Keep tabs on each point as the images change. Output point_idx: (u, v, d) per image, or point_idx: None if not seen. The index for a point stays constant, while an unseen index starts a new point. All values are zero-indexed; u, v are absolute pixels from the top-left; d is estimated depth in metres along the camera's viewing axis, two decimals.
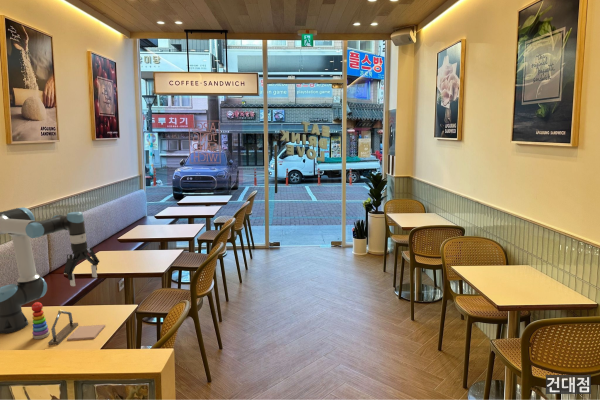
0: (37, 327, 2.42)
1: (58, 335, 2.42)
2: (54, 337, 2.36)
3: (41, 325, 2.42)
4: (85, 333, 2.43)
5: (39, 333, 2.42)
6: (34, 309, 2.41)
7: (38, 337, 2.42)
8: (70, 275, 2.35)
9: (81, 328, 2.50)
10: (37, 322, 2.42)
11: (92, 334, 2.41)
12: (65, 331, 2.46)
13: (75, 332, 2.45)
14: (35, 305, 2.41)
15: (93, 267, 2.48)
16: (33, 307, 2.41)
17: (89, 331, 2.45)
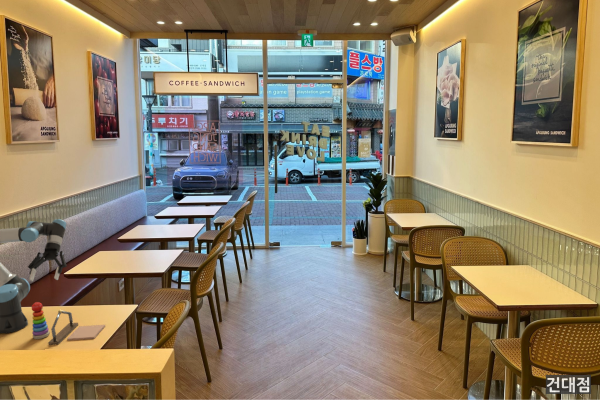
0: (37, 327, 2.42)
1: (58, 335, 2.42)
2: (54, 337, 2.36)
3: (41, 325, 2.42)
4: (85, 333, 2.43)
5: (39, 333, 2.42)
6: (34, 309, 2.41)
7: (38, 337, 2.42)
8: None
9: (81, 328, 2.50)
10: (37, 322, 2.42)
11: (92, 334, 2.41)
12: (65, 331, 2.46)
13: (75, 332, 2.45)
14: (35, 305, 2.41)
15: (34, 271, 2.55)
16: (33, 307, 2.41)
17: (89, 331, 2.45)
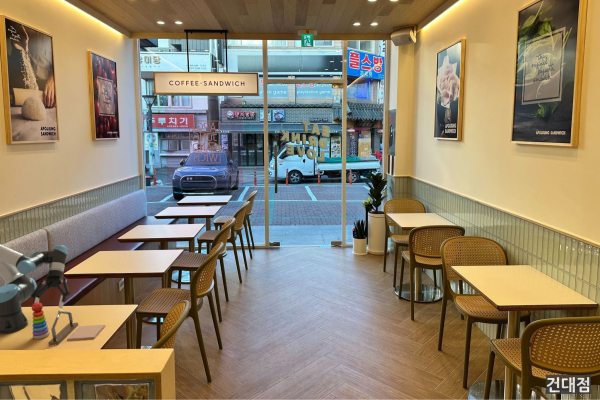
0: (37, 327, 2.42)
1: (58, 335, 2.42)
2: (54, 337, 2.36)
3: (41, 325, 2.42)
4: (85, 333, 2.43)
5: (39, 333, 2.42)
6: (34, 309, 2.41)
7: (38, 337, 2.42)
8: None
9: (81, 328, 2.50)
10: (37, 322, 2.42)
11: (92, 334, 2.41)
12: (65, 331, 2.46)
13: (75, 332, 2.45)
14: (35, 305, 2.41)
15: (38, 300, 2.52)
16: (33, 307, 2.41)
17: (89, 331, 2.45)
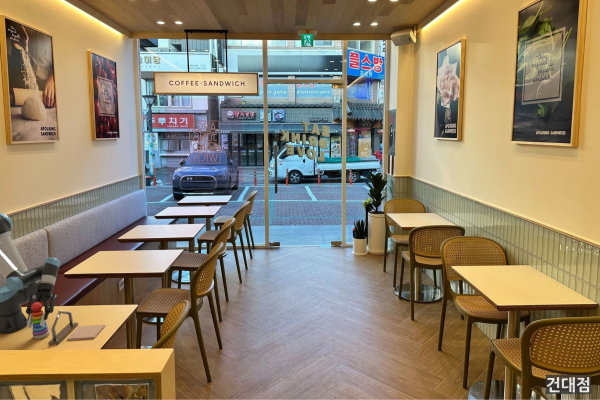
0: (37, 327, 2.42)
1: (58, 335, 2.42)
2: (54, 337, 2.36)
3: None
4: (85, 333, 2.43)
5: (39, 333, 2.42)
6: (33, 309, 2.41)
7: (38, 337, 2.42)
8: None
9: (81, 328, 2.50)
10: (37, 322, 2.42)
11: (92, 334, 2.41)
12: (65, 331, 2.46)
13: (75, 332, 2.45)
14: (34, 305, 2.41)
15: (32, 316, 2.44)
16: (32, 307, 2.41)
17: (89, 331, 2.45)
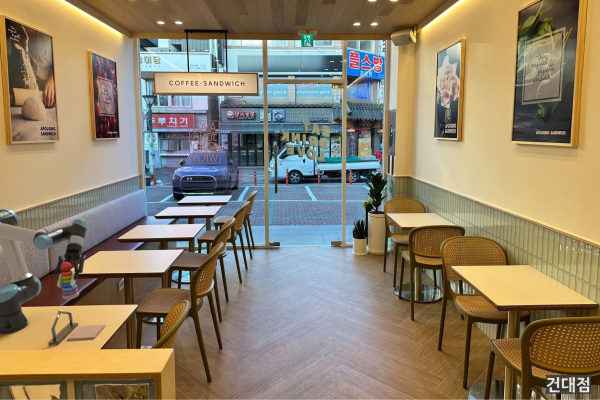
0: (67, 287, 2.37)
1: (58, 335, 2.42)
2: (54, 337, 2.36)
3: None
4: (85, 333, 2.43)
5: (69, 293, 2.37)
6: (63, 268, 2.36)
7: (68, 297, 2.37)
8: None
9: (81, 328, 2.50)
10: (67, 282, 2.37)
11: (92, 334, 2.41)
12: (65, 331, 2.46)
13: (75, 332, 2.45)
14: (64, 264, 2.36)
15: None
16: (62, 266, 2.36)
17: (89, 331, 2.45)
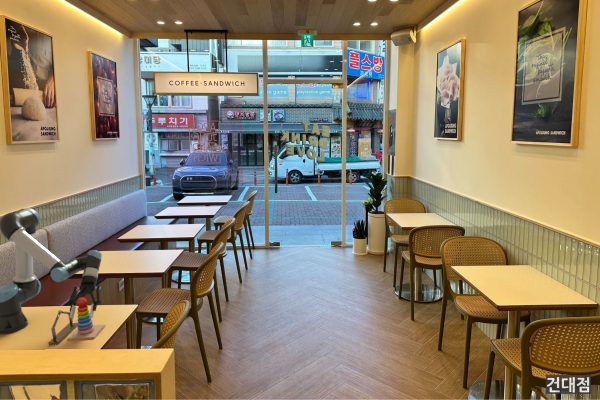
0: (82, 322, 2.41)
1: (58, 335, 2.42)
2: (54, 337, 2.36)
3: (86, 320, 2.42)
4: None
5: (84, 328, 2.42)
6: (79, 304, 2.40)
7: (84, 332, 2.42)
8: None
9: None
10: (82, 317, 2.41)
11: (92, 334, 2.41)
12: (65, 331, 2.46)
13: (75, 332, 2.45)
14: (80, 300, 2.41)
15: (74, 308, 2.44)
16: (78, 302, 2.40)
17: None
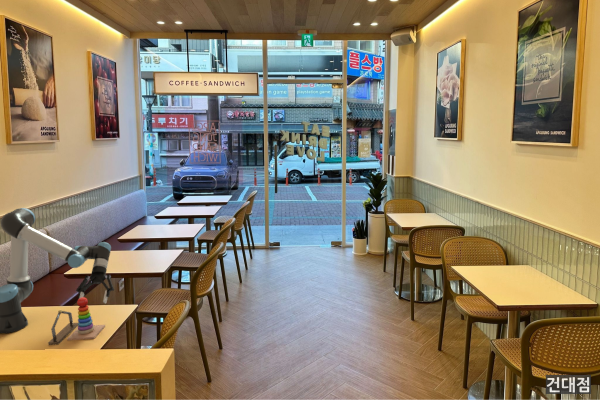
0: (83, 322, 2.42)
1: (58, 335, 2.42)
2: (54, 337, 2.36)
3: (87, 320, 2.42)
4: None
5: (85, 328, 2.42)
6: (80, 304, 2.41)
7: (84, 332, 2.42)
8: None
9: None
10: (83, 317, 2.42)
11: (92, 334, 2.41)
12: (65, 331, 2.46)
13: (75, 332, 2.45)
14: (81, 300, 2.41)
15: (83, 294, 2.58)
16: (79, 302, 2.41)
17: None
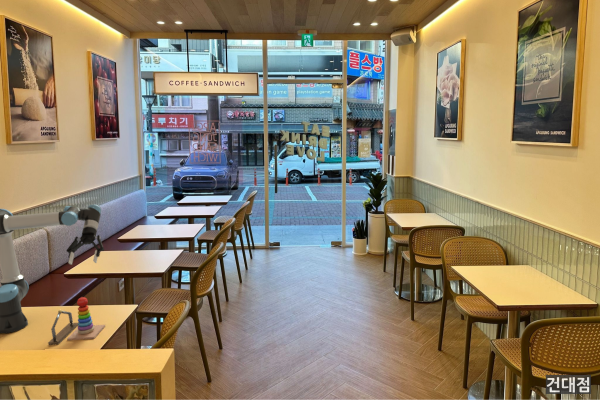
0: (83, 322, 2.42)
1: (58, 335, 2.42)
2: (54, 337, 2.36)
3: (86, 320, 2.42)
4: None
5: (85, 328, 2.42)
6: (80, 304, 2.41)
7: (84, 332, 2.42)
8: None
9: None
10: (83, 317, 2.42)
11: (92, 334, 2.41)
12: (65, 331, 2.46)
13: (75, 332, 2.45)
14: (81, 300, 2.41)
15: (73, 254, 2.60)
16: (79, 302, 2.41)
17: None
